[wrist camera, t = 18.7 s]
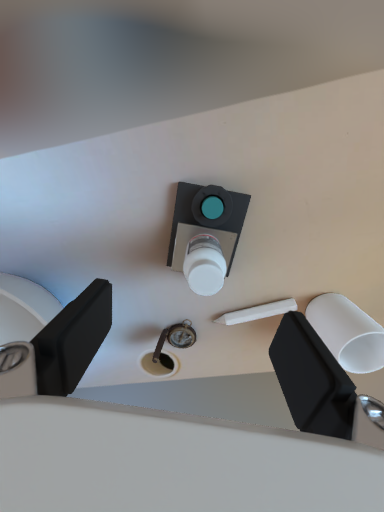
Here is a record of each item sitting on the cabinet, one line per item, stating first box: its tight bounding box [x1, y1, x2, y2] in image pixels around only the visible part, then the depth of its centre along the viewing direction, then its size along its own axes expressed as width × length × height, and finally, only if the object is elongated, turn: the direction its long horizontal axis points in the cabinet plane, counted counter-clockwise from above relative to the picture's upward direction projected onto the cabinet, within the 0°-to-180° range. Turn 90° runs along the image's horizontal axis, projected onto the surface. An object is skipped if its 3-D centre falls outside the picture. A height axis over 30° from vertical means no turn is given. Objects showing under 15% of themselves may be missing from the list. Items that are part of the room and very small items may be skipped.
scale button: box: [202, 196, 223, 219], centre depth 28 cm, size 3×3×2 cm
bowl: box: [0, 273, 63, 346], centre depth 36 cm, size 27×27×10 cm
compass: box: [152, 319, 196, 363], centre depth 38 cm, size 8×8×7 cm
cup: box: [305, 293, 384, 373], centre depth 33 cm, size 8×12×10 cm
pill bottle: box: [183, 234, 227, 296], centre depth 26 cm, size 5×5×10 cm
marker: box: [213, 298, 297, 326], centre depth 37 cm, size 3×2×16 cm
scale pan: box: [171, 222, 237, 280], centre depth 31 cm, size 8×9×1 cm
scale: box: [167, 182, 251, 277], centre depth 31 cm, size 14×11×3 cm
